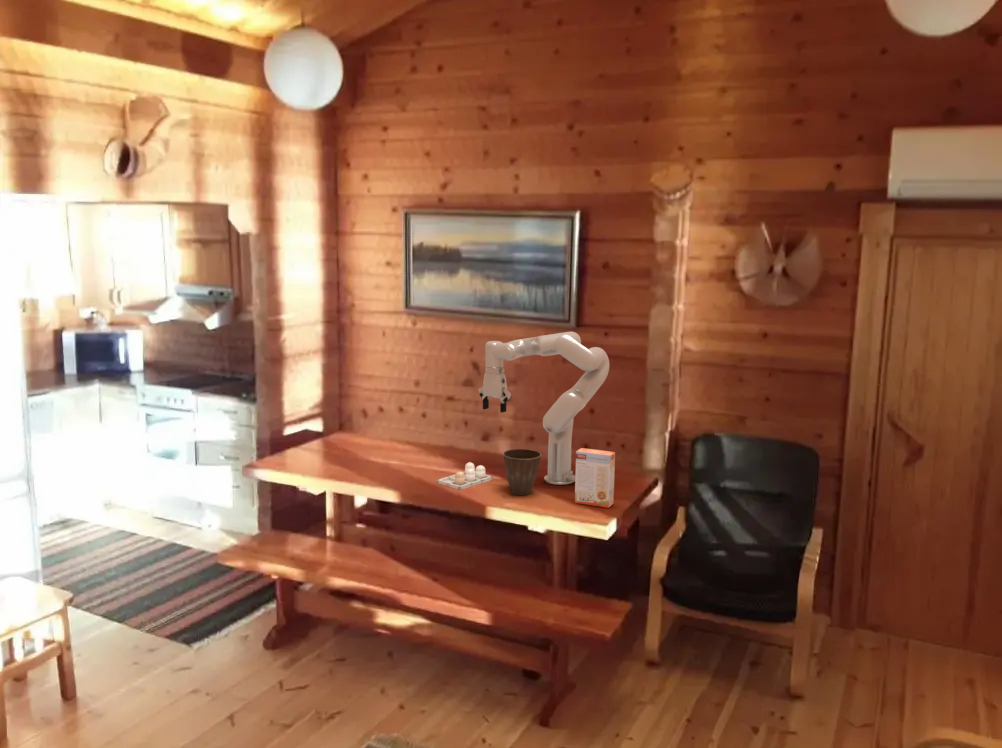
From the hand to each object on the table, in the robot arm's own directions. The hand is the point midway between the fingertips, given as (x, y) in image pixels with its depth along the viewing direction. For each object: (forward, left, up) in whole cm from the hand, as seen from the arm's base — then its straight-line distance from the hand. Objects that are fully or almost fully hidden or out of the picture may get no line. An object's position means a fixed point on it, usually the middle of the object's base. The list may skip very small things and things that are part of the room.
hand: (494, 410), depth 369 cm
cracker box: (-55, +4, -28) cm, 62 cm away
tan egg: (-5, +26, -26) cm, 37 cm away
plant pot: (-26, +13, -28) cm, 40 cm away
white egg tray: (-2, +20, -27) cm, 34 cm away
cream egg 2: (-5, +20, -26) cm, 33 cm away
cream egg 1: (+1, +14, -26) cm, 30 cm away
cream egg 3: (-5, +14, -26) cm, 30 cm away
